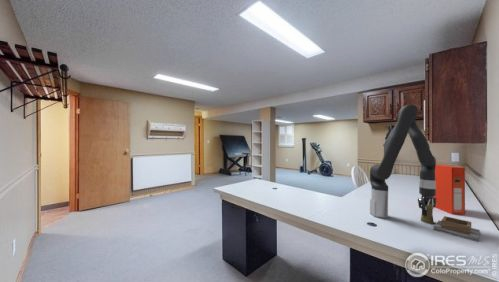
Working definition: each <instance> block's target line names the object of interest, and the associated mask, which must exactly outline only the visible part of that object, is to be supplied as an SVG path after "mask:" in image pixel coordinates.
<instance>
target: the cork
mask: <svg viewBox="0 0 499 282" xmlns="http://www.w3.org/2000/svg"><path fill="white" fill-rule="evenodd" d="M432 209H434V208H433V206H432V205H431V204H429V206H427V216H424V215H422V214H421V216H420V222H422V223H425V224H431V225H432V224H434V223H435V221H434V216H433V214H432ZM434 225H435V224H434Z"/></svg>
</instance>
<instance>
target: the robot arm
mask: <svg viewBox="0 0 499 282" xmlns="http://www.w3.org/2000/svg"><path fill="white" fill-rule="evenodd" d="M418 114H419V108H418V107H417V106H416V105H415V104H413V103H412V104H411V103H410V104H406V105H404V106H402V107H401V108H400V109H399V110H398V111H397V117H398V119H397V121H396V123H395V124H394V126H393V128H392V129H391V131H390V133H389V134H388V136H387V138H386V140H385V142H384V145H383V157H382V160H381V161H380V164H373V165H372V166H371V168H370V170H369V181H370V185H371V198H370V200H369V214H370V215H371V216H373V217H376V218H382V219H387V218H389V185H388V184H387V182H386V180H388V179H389V178H390V177H391V175H392V173H393V170H394V166H395V163H396V160H397V158H398V156H399V154H400V152H401V150H402V148H403V146H404V144H405V141H406V139H407V136H408V135H409V138H410V140H411V142H412V145H413V147H414V149H415V151H416V155H417V159H418V161H419V163H420V171H419V182H418V183H419V184H418V187H419V190H418V194H419V195H421V198H417V203H418V208H419V209H421V215H424V216H427V206H429V204H431V205H432V206H433V209H434V208H435V206H436V200H437V198H434V197H433V196H436V182H435V167H436V165H437V159H436V157H435V156H434V155H433V154H432V151H431V149H430V148H431V147H430V144H429V141H428V140H427V137H426V136H425V134H424V132H422V130H421V129H420V128H419V126H418V124H417V122H416V117H417V116H418ZM433 209H432V215H433V211H434V210H433ZM435 209H436V208H435Z"/></svg>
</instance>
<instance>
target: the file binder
mask: <svg viewBox="0 0 499 282" xmlns="http://www.w3.org/2000/svg"><path fill="white" fill-rule="evenodd" d="M465 173H466V170H465V167H461V166H454V165H446V164H436V167H435V182H436V196H433V197H434V198H437V200H436V206H435V209H438V210H440V211H443V212H445V213H448V214H450V215H454V216H455V215H457V216H465V215H466V174H465Z"/></svg>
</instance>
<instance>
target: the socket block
mask: <svg viewBox="0 0 499 282" xmlns="http://www.w3.org/2000/svg"><path fill="white" fill-rule="evenodd" d="M433 231H436V232H441V233H445V234H448V235H451V236H455V237H460V238H463V239H466V240H471V241H474V242H479V238H480V233H481V231H480V229H478V228H477V229H476V228H473V227H472V221H468V220H464V219H460V218H456V217H450V216H446V215H445V216H443V217H442V219H441V220H437V222H436V223H435V224H434V226H433Z"/></svg>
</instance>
